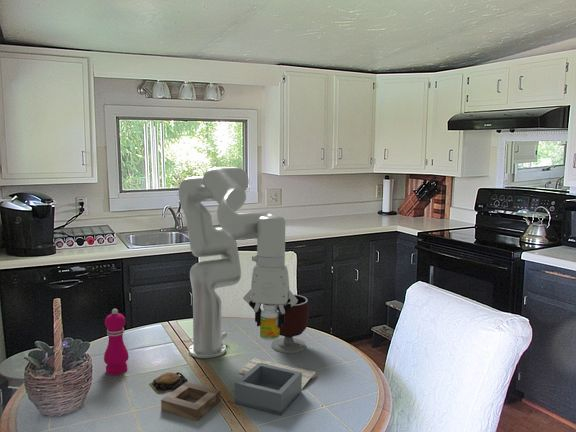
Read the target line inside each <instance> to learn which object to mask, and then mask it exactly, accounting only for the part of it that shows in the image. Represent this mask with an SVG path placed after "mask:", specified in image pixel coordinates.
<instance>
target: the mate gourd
mask: <svg viewBox="0 0 576 432" xmlns="http://www.w3.org/2000/svg"><path fill="white" fill-rule="evenodd" d="M293 295H294V296H295V297H296V298H297V300H298V301H297V303H296V304H295V305H293V306H292V307H291V308H290V309H289V310H288V311H286V312H285V324H283V325H282V328H280V331H279V336H281V337H282V338H281V337H279V338H278V339H276V340H272V341H271V343H270V344H271V345H270V346H271V349H273V350H274V351H276V352H278V353H281V354H282V353H283V354H295V353H300V352H302V351H304V350H305V349H306V348H307V344H306V342H305V341H304V340H302V339H299V338H295V337H297V336H301V335H302V334H303V333H304V331H305V330H306V329H307V326H308V324H309V319H310V318H309V317H310V308H309V303H308V302H309V301H308V298H307V297H306V296H303V295H299V294H294V293H293ZM290 301H291V300H290V299H288V301H287V303H286V304H285V305H287V304H288V303H289V302H290ZM277 310H278V311H279V312H280V308H279V305H278V308H277Z"/></svg>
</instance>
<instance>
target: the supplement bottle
mask: <svg viewBox="0 0 576 432" xmlns="http://www.w3.org/2000/svg"><path fill="white" fill-rule="evenodd" d="M262 308H263V309H261V310H262V311H261V313H260V326H259V337H260V339H262V340H264V341H274V340H276V339H280V335H279V331H280V328H279V313H280V312H279V311H278V310H277V308H278V305H275V304H262Z"/></svg>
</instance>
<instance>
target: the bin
mask: <svg viewBox="0 0 576 432" xmlns="http://www.w3.org/2000/svg"><path fill="white" fill-rule="evenodd" d="M301 389H302V372H298V371H293V370H288V369H284V368H279V367H275V366H270V365H266V364H261V363H258V364H257V365H256V366H254V367H253V368H252V369H251V370H250V371H248V372H247V373H246V374H245V375H242V377H240V378H239V379H238V380H237V381H235V382H234V404H235V405H240V406H243V407H246V408H250V409H255V410H259V411H262V412H266V413H270V414H274V415H276V416H277V415H278V416H282V415H283V414H284V413H285V412H286V411H287V409H288V408H289V407H290V406H291V405H292V403H294V401H295V400H297V398H298V397H299V395H300V394H301V393H302V390H303V389H302V390H301Z"/></svg>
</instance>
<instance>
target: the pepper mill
mask: <svg viewBox="0 0 576 432" xmlns="http://www.w3.org/2000/svg"><path fill="white" fill-rule="evenodd" d="M125 325H126V317H125V316H124V314H122V313H120V312H119V310H118V309H117V308H113V309H112V310H111V313H110V314H109V315H107V316H106V318H105V320H104V326H105V327H106V329H107V330H106V335H107V336H108V344H107V347H106V348H105V352H104V354H103V355H104V356H103V362H104V363H105V364H106V366H105V372H106V374H107V375H110V376H118V375H121V374H124V373H126V372H127V371H128V363H127V361H128V360H129V351H128V349H127V347H126V345H125V343H124V338H123V337H124V333H125V331H124V330H125V328H124V327H125Z"/></svg>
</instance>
